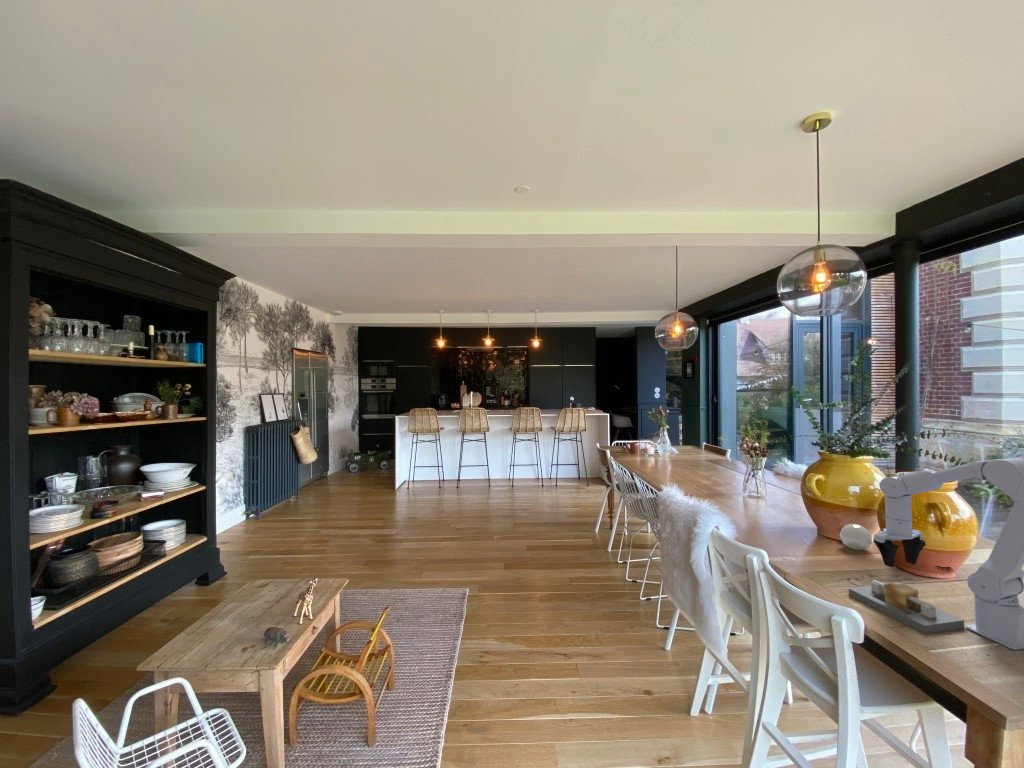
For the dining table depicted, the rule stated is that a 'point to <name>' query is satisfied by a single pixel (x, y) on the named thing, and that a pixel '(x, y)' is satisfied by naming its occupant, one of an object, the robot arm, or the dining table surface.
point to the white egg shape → (856, 537)
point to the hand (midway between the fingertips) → (900, 564)
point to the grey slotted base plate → (924, 621)
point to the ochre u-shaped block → (900, 595)
